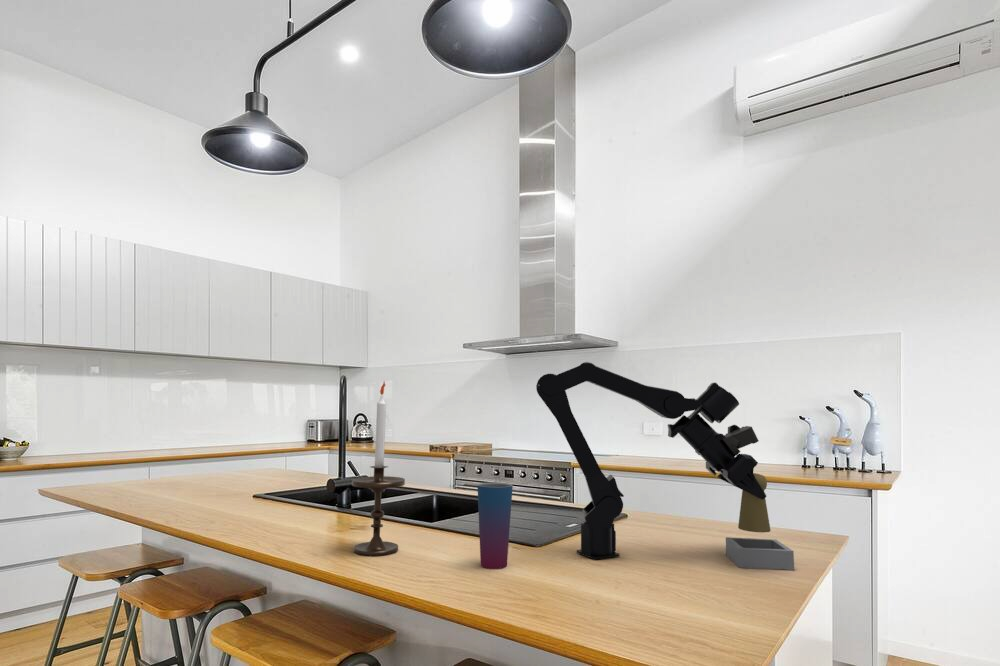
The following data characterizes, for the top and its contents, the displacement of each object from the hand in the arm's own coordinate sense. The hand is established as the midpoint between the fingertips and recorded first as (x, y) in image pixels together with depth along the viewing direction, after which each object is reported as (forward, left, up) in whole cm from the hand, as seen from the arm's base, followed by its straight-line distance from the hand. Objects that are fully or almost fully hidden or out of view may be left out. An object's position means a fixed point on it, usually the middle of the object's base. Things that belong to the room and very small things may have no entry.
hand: (760, 496), depth 121 cm
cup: (-50, +20, -13) cm, 56 cm away
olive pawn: (-1, +1, -7) cm, 7 cm away
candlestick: (-67, +40, -13) cm, 79 cm away
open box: (-1, 0, -13) cm, 13 cm away
